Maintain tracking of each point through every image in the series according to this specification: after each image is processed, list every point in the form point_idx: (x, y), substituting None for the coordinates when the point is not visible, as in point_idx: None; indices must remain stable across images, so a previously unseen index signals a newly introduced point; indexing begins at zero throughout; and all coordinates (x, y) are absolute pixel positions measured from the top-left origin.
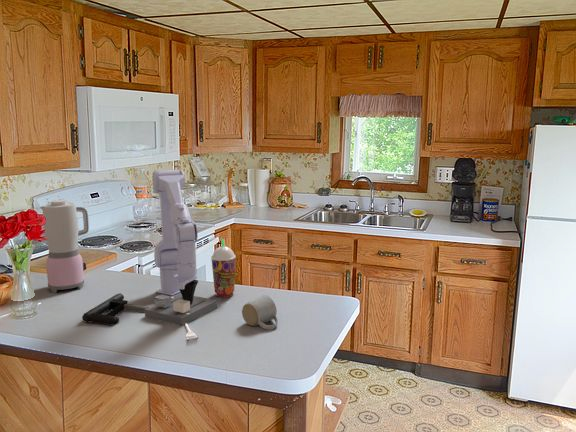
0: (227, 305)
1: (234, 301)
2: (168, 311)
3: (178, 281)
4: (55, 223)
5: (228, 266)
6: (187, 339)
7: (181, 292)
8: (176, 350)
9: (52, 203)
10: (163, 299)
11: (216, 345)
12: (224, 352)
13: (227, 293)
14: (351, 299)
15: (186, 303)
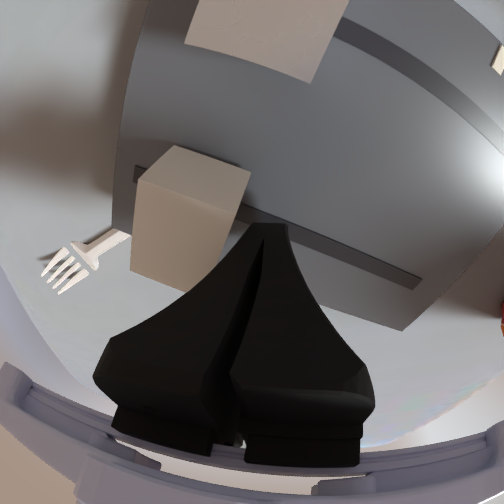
0: (415, 325)
1: (448, 335)
2: (177, 97)
3: (9, 429)
4: None
5: None
6: (52, 258)
7: (182, 303)
8: (12, 242)
9: None
10: (189, 33)
11: (80, 319)
12: (69, 330)
13: (501, 324)
14: (376, 445)
15: (167, 279)
